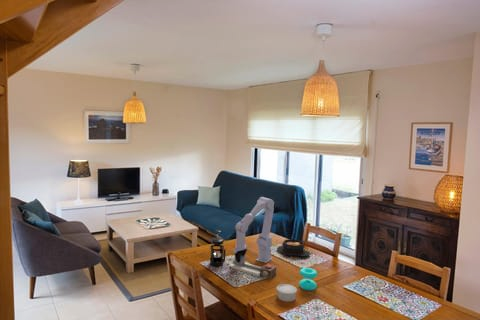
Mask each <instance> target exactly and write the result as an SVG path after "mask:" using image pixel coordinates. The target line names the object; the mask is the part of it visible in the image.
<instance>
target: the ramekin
mask: <svg viewBox="0 0 480 320" xmlns="http://www.w3.org/2000/svg"><path fill="white" fill-rule="evenodd" d="M275 289H276V295H277V298H278V300H280V301H282V302H286V303H288V302H293V301H294V300H296V296H297V292H298V289H297V287H295V286H294V285H293V284H292V285H291V284H289V283H288V284H287V283H282V284H278V285H277V286H276V288H275Z"/></svg>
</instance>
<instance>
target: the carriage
mask: <svg viewBox="0 0 480 320" xmlns="http://www.w3.org/2000/svg"><path fill="white" fill-rule="evenodd" d="M246 258H247V257H246V255H245V256H242V255H241V258H240V262H237V261H236V257H235V256H234V260H235V261H234V260H233V261H234V262H235V264H237V265H240V266H242V264H243V263H246Z"/></svg>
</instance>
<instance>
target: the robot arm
mask: <svg viewBox="0 0 480 320" xmlns="http://www.w3.org/2000/svg"><path fill="white" fill-rule="evenodd" d="M274 207H275V201H274V200H273V199H272V198H267V197H264V196H260V197H259V198H258V200H257V201H256V204H255V206H254V207H253V208H252V210H251V211H250V213H246V214H245V215H244V216H243V218H242V219H241V220H240V221H238V222H237V223H236V224H235V227H234V229H235V231H236V232H235V233H236V242H235V243H236V244H235V246H234V249H233V250H232V253H233V254H234V258H235V257H236V261H237V262H240V258H241V255H242V256H246V253H247V251H248V249H247V248H248V244H246V232H247V231H248V229H249V225H251V223H252V222H253V221H254V217H256V215H257V214H258V213H259V212H260V211H261V210H264V211H265V213H264V216H263V217H264V218H263V223H262V230H261V233H260V234H259V235H258V237H257V239H256V245H258V246H257V247H258V258H255V261H258V262H260V263H264V264H267V263H268V262H270V261H271V260H273V258H272V249H271V248H272V246H273V245H272V244H273V238H272V236H271V235H270V233H271V228H272V221H273V217H274V211H275V208H274Z"/></svg>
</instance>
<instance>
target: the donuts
mask: <svg viewBox="0 0 480 320" xmlns="http://www.w3.org/2000/svg"><path fill="white" fill-rule="evenodd" d="M299 274H300V276H301V277H303V279H301V280H300V281H299V282H298V285H299V287H300V288H301V289H303V290H306V291H315V290H316V289H317V287H318V286H317V283H316V282H315V281H314V280H312V279H315V278H317V277H318V272H317V270H316V269H313V268H311V267H303V268H301V269H300V270H299Z"/></svg>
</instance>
